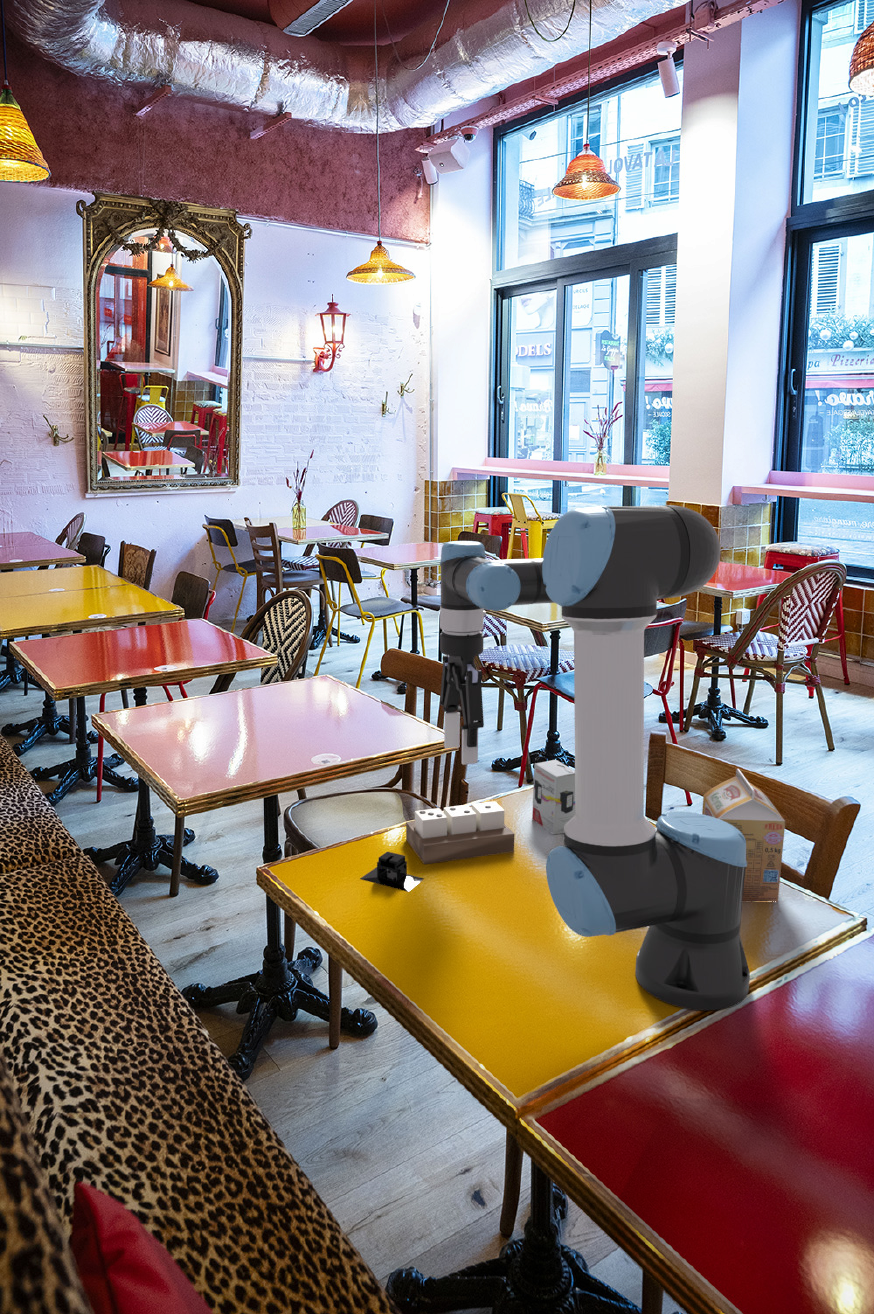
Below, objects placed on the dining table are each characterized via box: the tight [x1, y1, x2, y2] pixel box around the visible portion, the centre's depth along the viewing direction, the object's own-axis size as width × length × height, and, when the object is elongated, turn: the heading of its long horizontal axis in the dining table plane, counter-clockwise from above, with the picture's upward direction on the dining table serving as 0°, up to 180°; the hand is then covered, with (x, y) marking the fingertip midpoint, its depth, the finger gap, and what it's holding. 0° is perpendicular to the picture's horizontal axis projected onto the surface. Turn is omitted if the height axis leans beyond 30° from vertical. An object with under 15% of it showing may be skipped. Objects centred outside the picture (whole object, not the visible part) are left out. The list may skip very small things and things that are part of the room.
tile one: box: [471, 801, 505, 831], centre depth 175 cm, size 5×5×5 cm
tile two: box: [443, 804, 476, 835], centre depth 173 cm, size 5×5×5 cm
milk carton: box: [701, 768, 786, 903], centre depth 156 cm, size 11×11×19 cm
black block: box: [359, 851, 425, 893], centre depth 161 cm, size 12×7×5 cm, turn 61°
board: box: [405, 820, 515, 865], centre depth 174 cm, size 11×17×4 cm, turn 109°
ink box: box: [531, 759, 575, 835], centre depth 182 cm, size 9×5×12 cm, turn 25°
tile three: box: [414, 807, 447, 839], centre depth 171 cm, size 5×5×5 cm
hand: (460, 754), depth 170 cm, fingers open, 9 cm apart
